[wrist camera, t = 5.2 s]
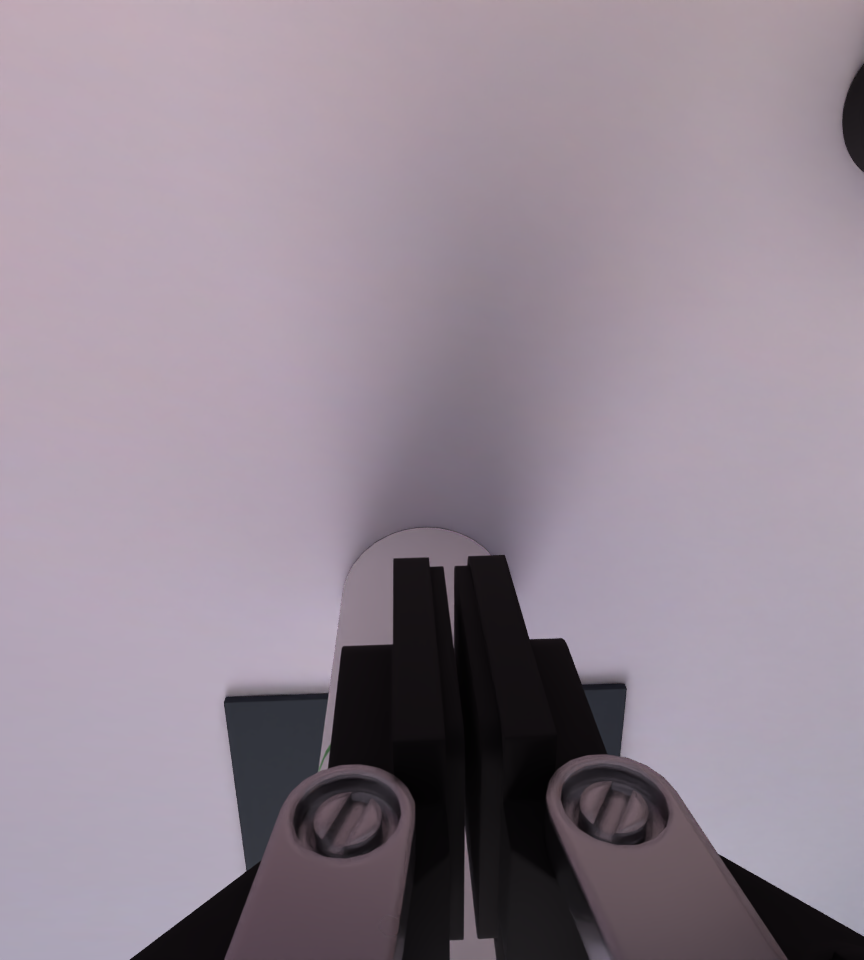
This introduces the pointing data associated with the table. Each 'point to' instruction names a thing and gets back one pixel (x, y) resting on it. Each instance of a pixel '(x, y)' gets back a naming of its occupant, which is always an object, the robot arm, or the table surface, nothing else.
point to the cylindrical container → (372, 624)
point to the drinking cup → (855, 120)
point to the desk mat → (297, 748)
